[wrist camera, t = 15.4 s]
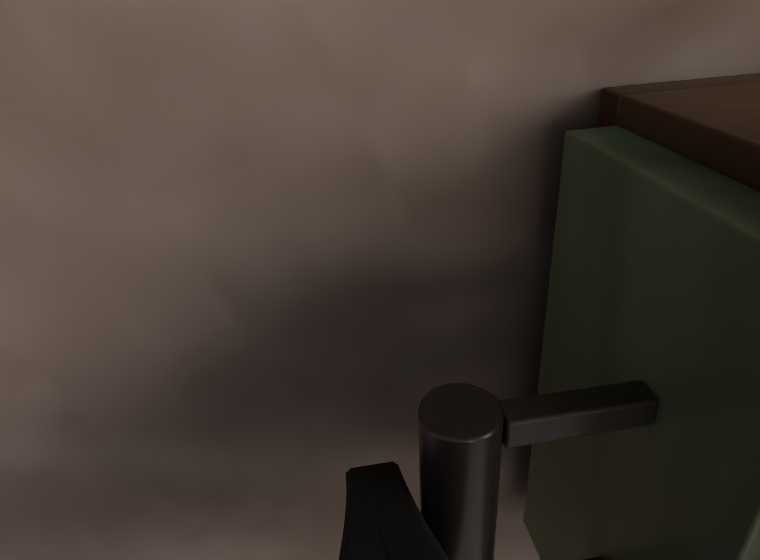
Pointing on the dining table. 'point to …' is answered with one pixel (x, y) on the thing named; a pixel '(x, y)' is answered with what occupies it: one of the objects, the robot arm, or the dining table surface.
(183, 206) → the dining table surface
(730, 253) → the drawer
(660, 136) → the cabinet
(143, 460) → the dining table surface
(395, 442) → the dining table surface
